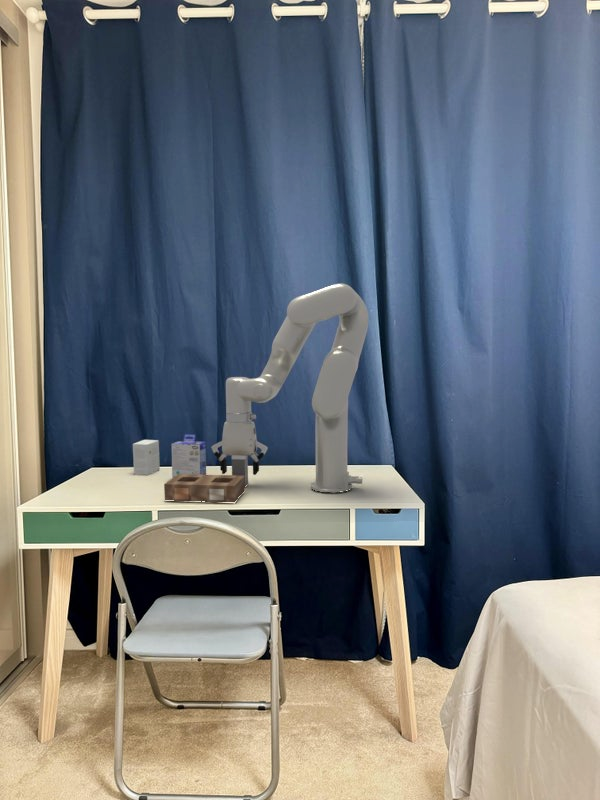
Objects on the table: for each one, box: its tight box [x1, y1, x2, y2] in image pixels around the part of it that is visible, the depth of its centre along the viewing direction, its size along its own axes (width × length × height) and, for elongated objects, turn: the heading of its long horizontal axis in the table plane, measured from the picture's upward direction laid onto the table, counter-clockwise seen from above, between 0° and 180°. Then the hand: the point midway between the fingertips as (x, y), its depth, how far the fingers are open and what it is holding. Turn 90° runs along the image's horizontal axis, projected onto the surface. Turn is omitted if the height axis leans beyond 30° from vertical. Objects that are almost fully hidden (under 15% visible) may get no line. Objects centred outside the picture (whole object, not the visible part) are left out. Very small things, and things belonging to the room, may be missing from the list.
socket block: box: [163, 474, 246, 502], centre depth 172 cm, size 20×12×5 cm, turn 82°
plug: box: [231, 455, 249, 486], centre depth 183 cm, size 4×4×10 cm
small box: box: [132, 439, 161, 476], centre depth 203 cm, size 8×6×10 cm
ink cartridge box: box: [171, 433, 207, 479], centre depth 192 cm, size 10×6×14 cm, turn 78°
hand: (239, 473), depth 184 cm, fingers open, 9 cm apart
